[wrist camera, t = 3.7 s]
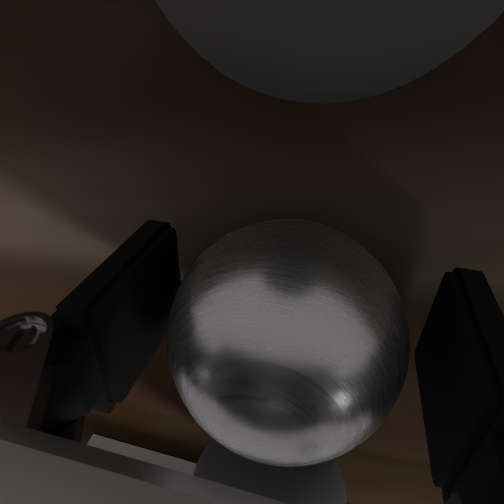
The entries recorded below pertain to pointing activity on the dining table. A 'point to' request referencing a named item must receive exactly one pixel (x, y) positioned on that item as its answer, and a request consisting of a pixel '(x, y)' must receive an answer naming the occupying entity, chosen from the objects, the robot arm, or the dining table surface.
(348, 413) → the steel ball
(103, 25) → the dining table surface
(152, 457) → the tray
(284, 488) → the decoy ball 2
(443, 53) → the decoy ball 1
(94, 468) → the robot arm
